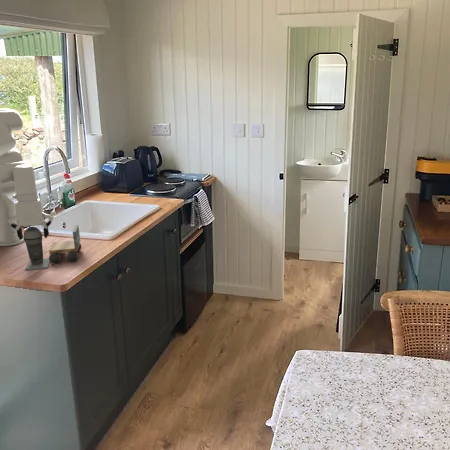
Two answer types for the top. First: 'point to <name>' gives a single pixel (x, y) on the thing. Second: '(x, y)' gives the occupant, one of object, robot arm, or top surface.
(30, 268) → the mat
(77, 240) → the trolley
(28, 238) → the beverage cup
